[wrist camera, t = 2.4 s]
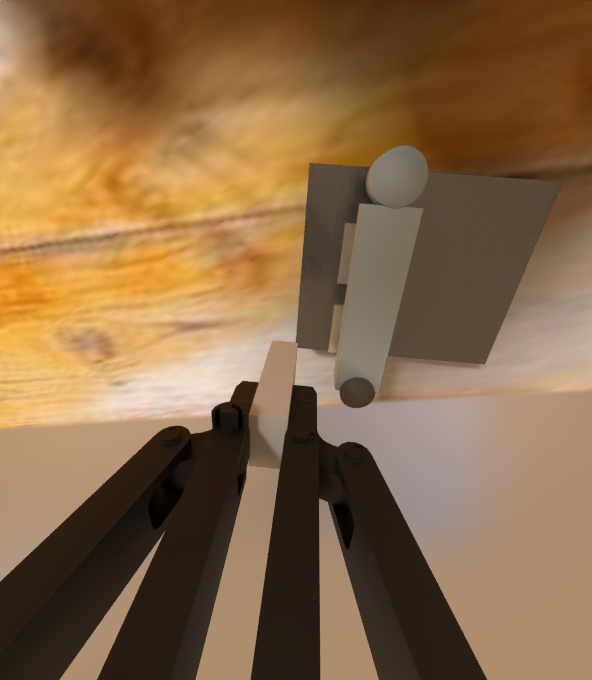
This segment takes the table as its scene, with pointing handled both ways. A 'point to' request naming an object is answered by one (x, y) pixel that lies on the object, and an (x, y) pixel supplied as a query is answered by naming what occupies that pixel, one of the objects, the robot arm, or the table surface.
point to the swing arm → (378, 272)
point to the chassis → (425, 259)
